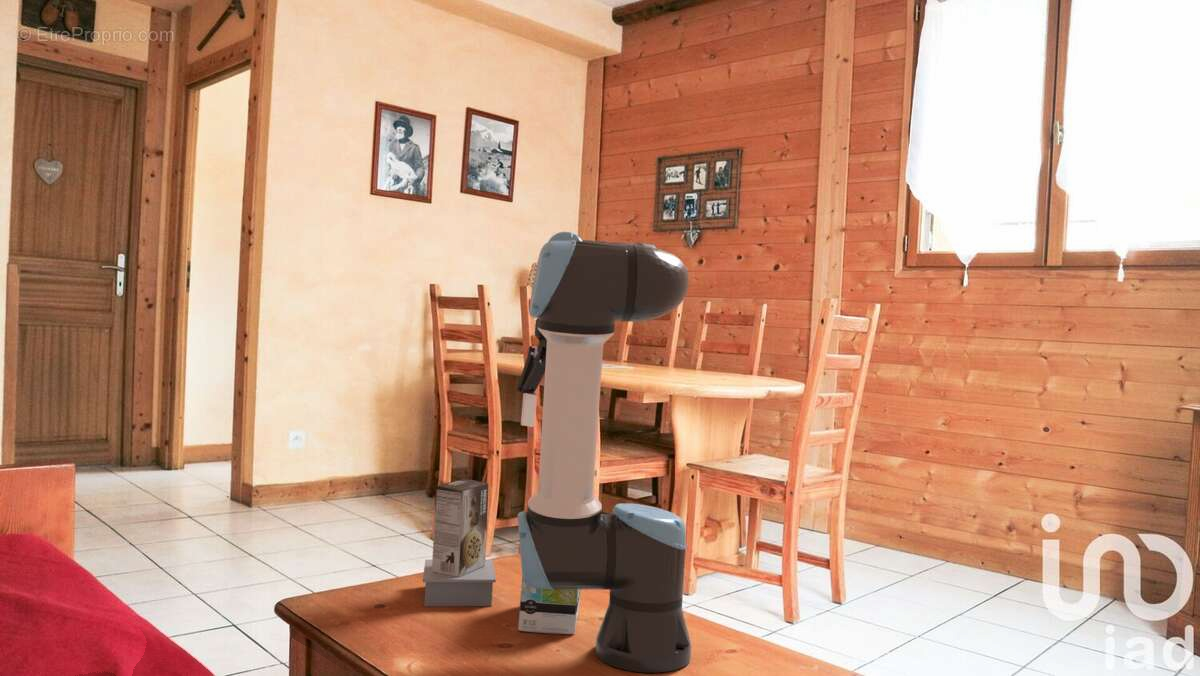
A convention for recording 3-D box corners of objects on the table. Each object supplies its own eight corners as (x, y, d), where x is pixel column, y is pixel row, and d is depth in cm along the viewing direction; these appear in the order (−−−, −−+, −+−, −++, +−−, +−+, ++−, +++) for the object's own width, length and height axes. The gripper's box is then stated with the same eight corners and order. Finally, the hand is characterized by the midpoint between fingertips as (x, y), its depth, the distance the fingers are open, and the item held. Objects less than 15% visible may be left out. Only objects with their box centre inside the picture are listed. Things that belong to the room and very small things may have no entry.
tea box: (576, 636, 144) (581, 548, 144) (517, 632, 144) (521, 544, 144) (580, 607, 159) (584, 527, 159) (525, 604, 159) (530, 524, 159)
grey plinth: (494, 606, 157) (495, 579, 157) (421, 607, 155) (422, 579, 154) (491, 585, 170) (492, 560, 169) (424, 585, 167) (425, 559, 167)
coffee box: (458, 561, 168) (462, 478, 167) (486, 566, 165) (490, 482, 165) (429, 572, 159) (434, 484, 159) (459, 577, 157) (463, 489, 156)
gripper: (606, 311, 167) (599, 420, 162) (535, 333, 187) (527, 430, 181) (575, 303, 163) (567, 414, 158) (506, 326, 182) (496, 425, 177)
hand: (546, 423), depth 169 cm, fingers open, 13 cm apart
